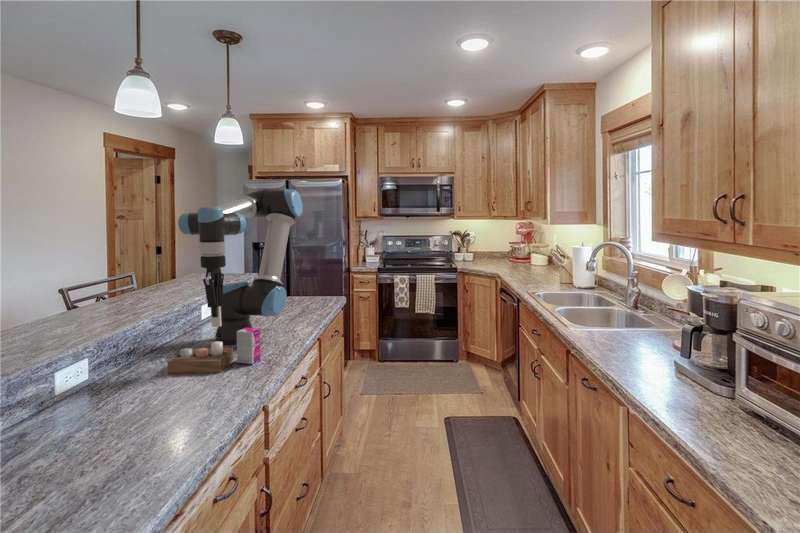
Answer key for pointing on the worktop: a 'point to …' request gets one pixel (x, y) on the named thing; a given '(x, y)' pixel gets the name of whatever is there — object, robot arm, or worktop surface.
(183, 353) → the pale blue egg
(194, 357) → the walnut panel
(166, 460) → the worktop surface
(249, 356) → the supplement box
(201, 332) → the worktop surface
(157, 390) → the worktop surface
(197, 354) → the brown egg
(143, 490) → the worktop surface
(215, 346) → the white egg
